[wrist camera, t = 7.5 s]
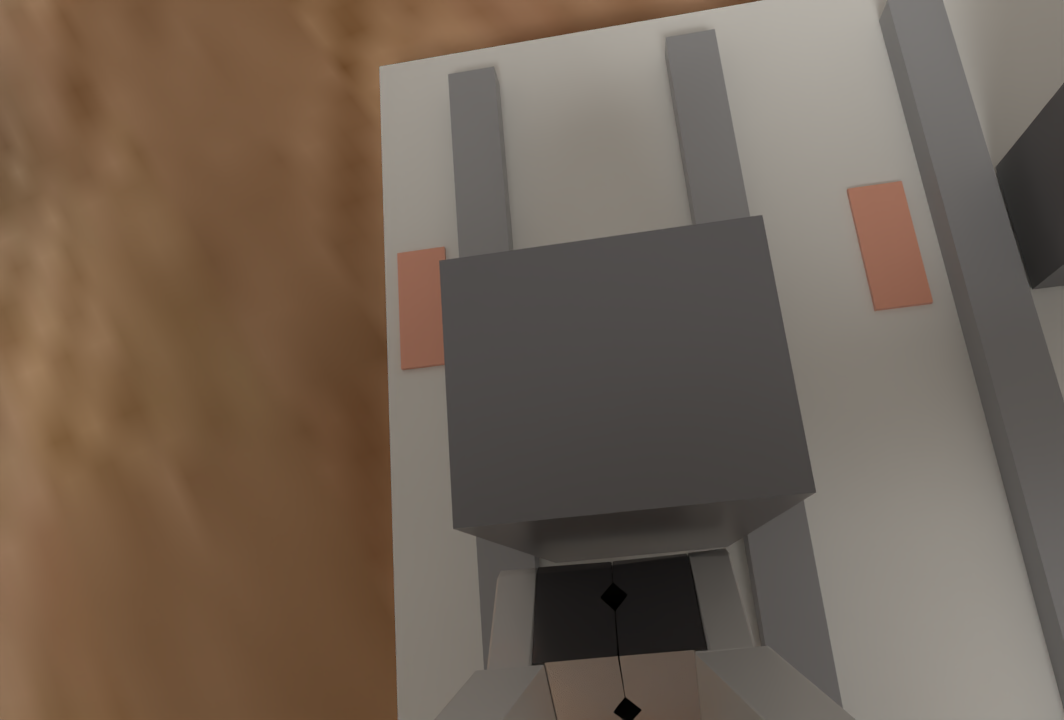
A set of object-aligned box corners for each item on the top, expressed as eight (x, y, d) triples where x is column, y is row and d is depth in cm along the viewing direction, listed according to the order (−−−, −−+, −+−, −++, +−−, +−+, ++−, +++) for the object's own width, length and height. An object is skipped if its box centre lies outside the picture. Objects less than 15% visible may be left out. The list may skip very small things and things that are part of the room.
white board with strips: (1576, 932, 12) (1818, 1021, 9) (440, 970, 14) (394, 1050, 11) (1181, -9, 17) (1269, -110, 15) (405, 118, 19) (370, 48, 17)
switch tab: (727, 546, 13) (816, 493, 6) (555, 562, 14) (453, 528, 7) (705, 406, 14) (762, 214, 7) (543, 424, 14) (438, 260, 7)
